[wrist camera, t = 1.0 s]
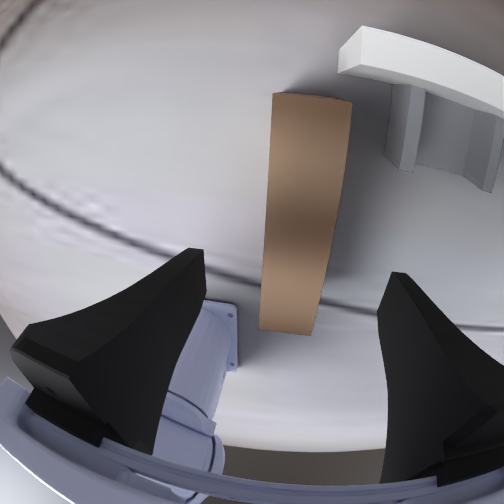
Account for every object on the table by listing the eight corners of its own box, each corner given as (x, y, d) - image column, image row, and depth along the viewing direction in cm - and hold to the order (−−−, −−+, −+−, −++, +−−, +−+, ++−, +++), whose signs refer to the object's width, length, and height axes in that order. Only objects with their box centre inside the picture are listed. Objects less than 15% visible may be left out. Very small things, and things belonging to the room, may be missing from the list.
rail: (311, 280, 22) (310, 335, 17) (269, 275, 22) (258, 329, 17) (337, 98, 14) (352, 102, 10) (282, 91, 15) (272, 93, 10)
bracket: (499, 185, 14) (557, 233, 9) (331, 146, 16) (347, 184, 10) (514, 107, 11) (582, 130, 5) (339, 49, 13) (362, 25, 7)
